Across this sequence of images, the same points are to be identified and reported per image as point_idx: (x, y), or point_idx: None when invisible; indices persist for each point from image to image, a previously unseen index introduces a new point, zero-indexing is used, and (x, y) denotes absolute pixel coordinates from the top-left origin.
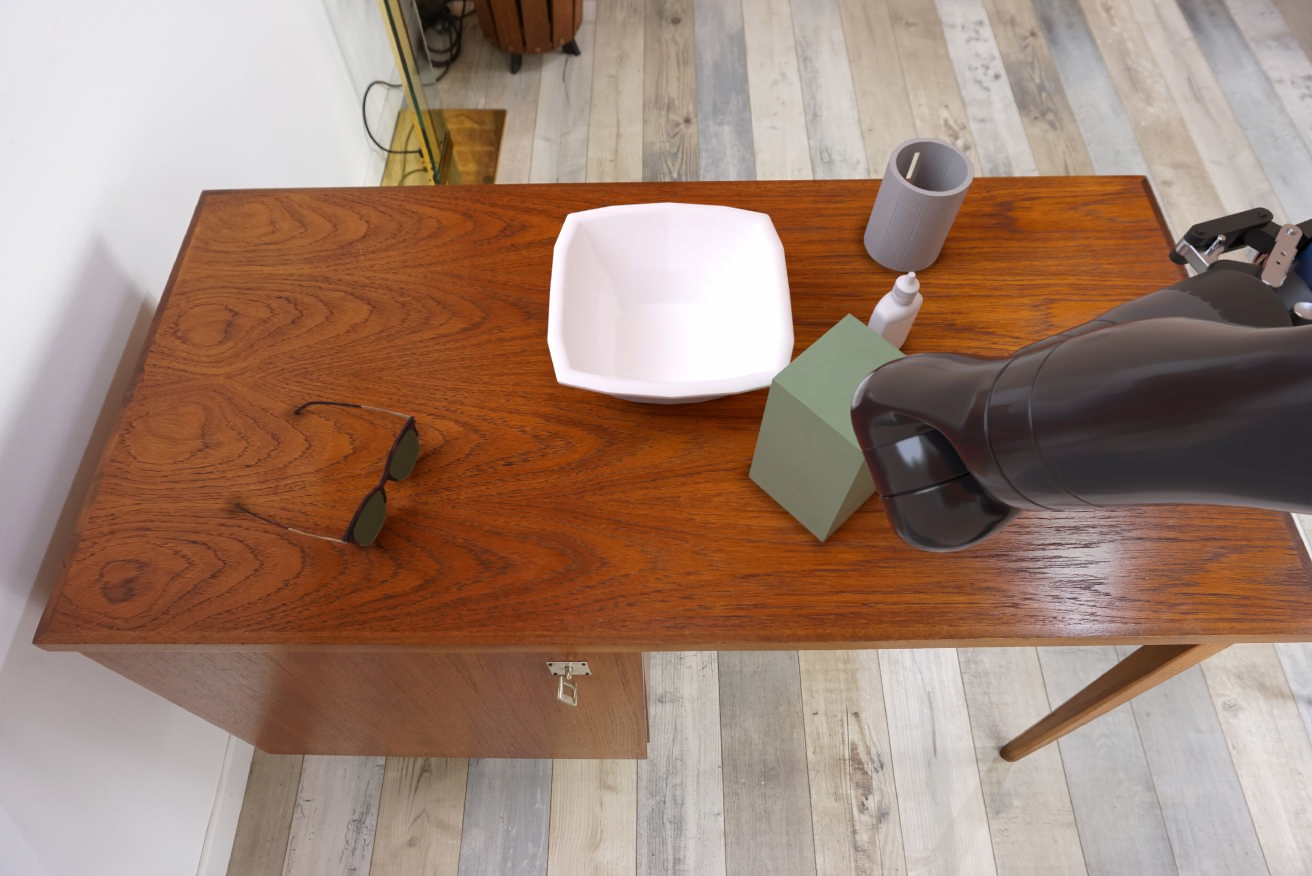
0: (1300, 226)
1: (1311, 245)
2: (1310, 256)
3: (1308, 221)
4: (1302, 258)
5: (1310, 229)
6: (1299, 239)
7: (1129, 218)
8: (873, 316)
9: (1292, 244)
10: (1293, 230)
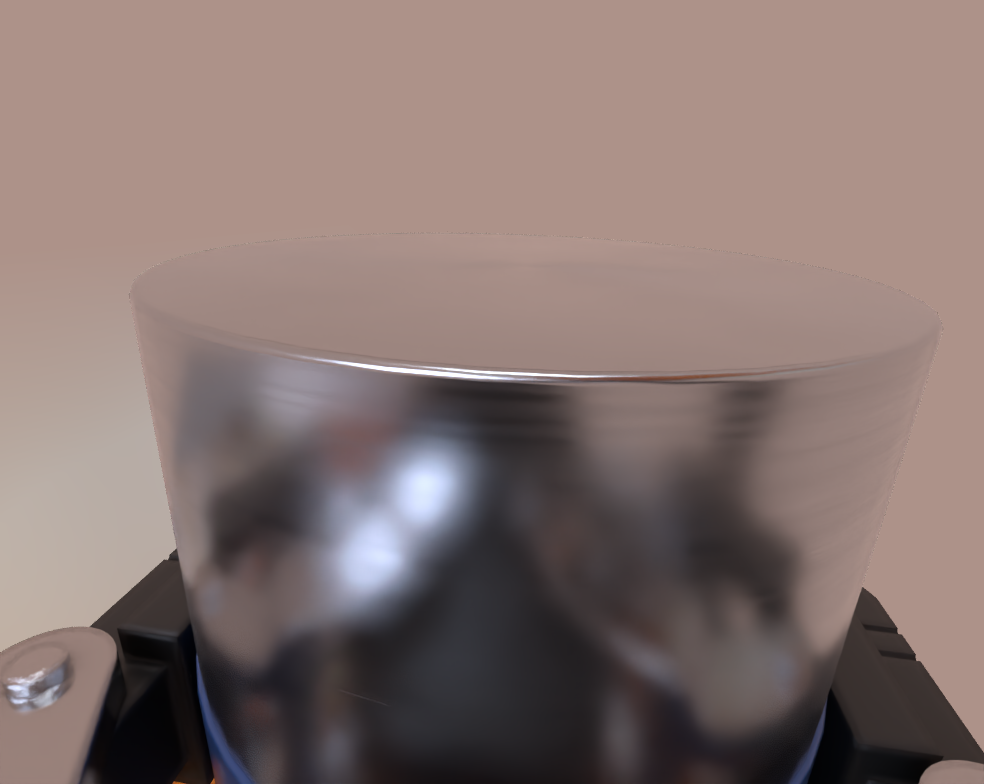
0: (139, 601)
1: (197, 675)
2: (216, 759)
3: (173, 559)
4: (213, 771)
5: (169, 591)
6: (98, 697)
7: None
8: None
9: (41, 779)
10: (33, 670)
